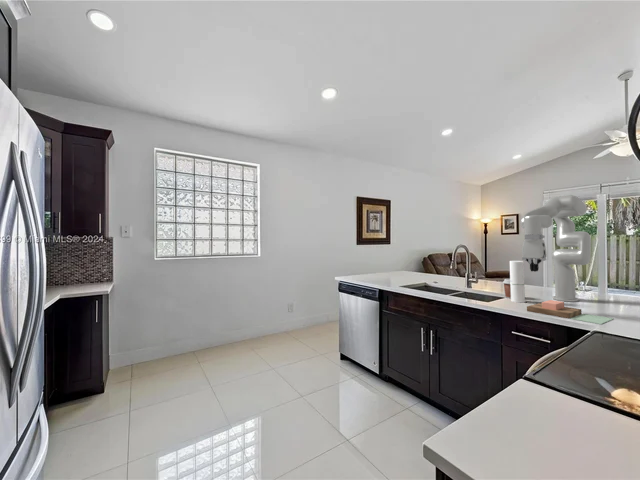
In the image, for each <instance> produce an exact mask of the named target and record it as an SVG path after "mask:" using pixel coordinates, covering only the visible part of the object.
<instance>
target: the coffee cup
mask: <svg viewBox="0 0 640 480" xmlns="http://www.w3.org/2000/svg"><path fill="white" fill-rule="evenodd" d="M502 284H503V289H504V295H505V296H504V297H505V298H506V299H510V300H511V286H510V278H504V281H502Z"/></svg>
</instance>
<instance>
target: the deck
mask: <svg viewBox="0 0 640 480" xmlns="http://www.w3.org/2000/svg"><path fill="white" fill-rule="evenodd" d="M526 311H527V312H529V313H530V312H531V313H536V314H542V315H545V316H547V315H548V316H553V317H556V318H557V317H558V318H563V319H567V320H568V319H570V318H572V317H575V316H578V315H581V314H583V313H582V309H581V308H575V307H568V306H564V308H562V309H558V310H552V309H546V308H542V302H538V303H535V304H531V305H527V306H526Z"/></svg>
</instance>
